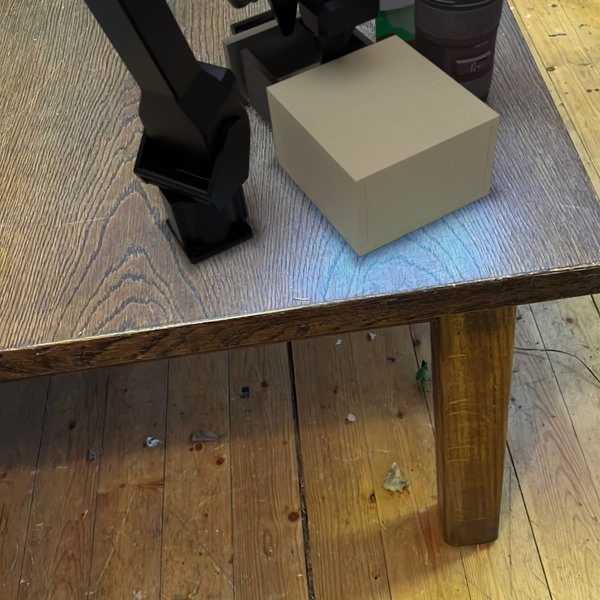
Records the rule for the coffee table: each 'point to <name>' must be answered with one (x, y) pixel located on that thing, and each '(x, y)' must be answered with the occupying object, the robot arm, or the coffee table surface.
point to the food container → (396, 21)
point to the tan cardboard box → (383, 141)
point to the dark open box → (272, 55)
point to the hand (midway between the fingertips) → (307, 53)
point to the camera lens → (460, 39)
